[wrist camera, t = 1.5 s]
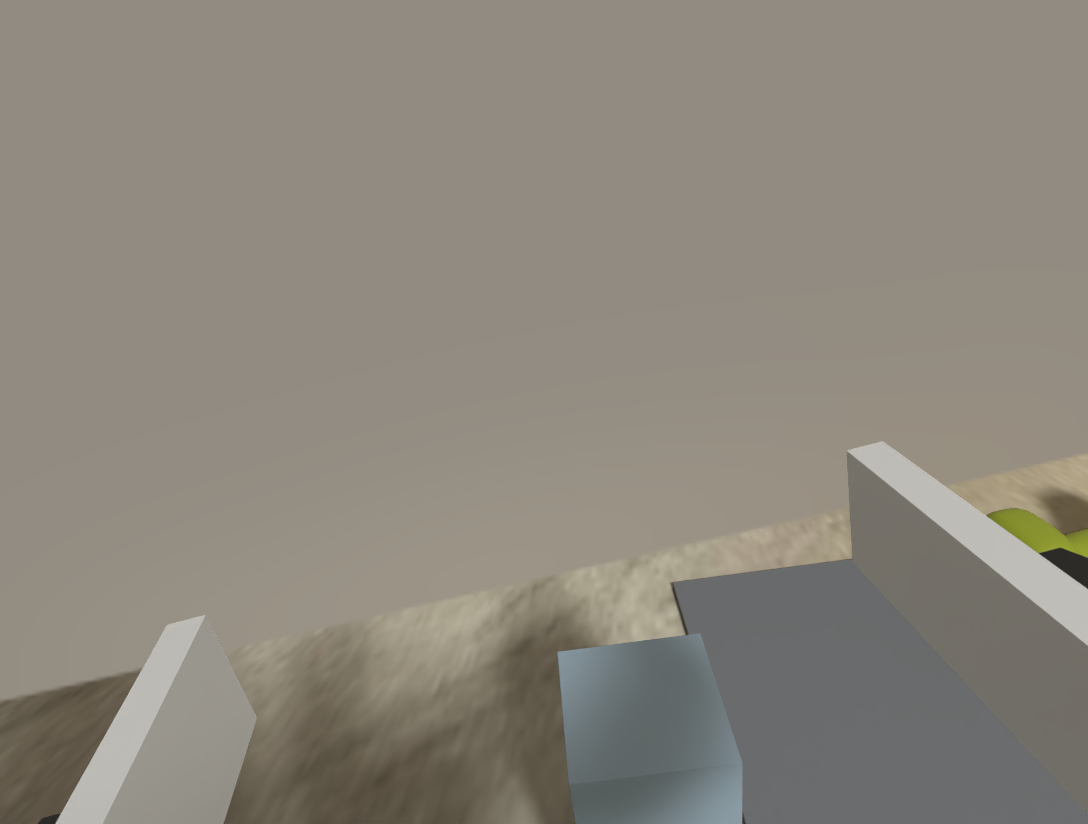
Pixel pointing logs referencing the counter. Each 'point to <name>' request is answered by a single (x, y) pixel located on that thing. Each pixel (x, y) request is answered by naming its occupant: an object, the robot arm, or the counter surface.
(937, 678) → the mat
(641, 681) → the block
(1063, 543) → the dumbbell
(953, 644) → the robot arm
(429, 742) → the counter surface
